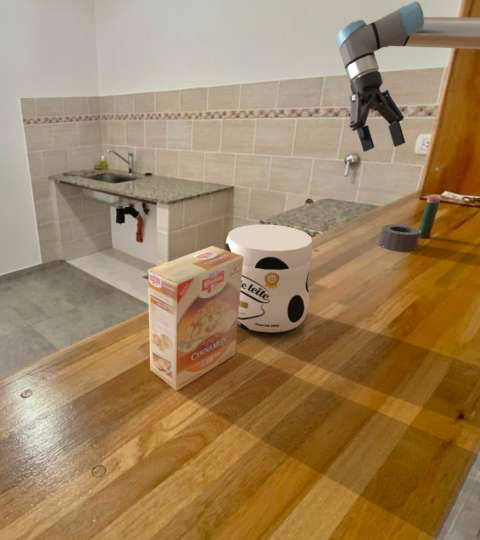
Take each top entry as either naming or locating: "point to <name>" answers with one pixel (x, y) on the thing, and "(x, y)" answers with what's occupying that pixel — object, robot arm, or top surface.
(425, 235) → the green marker pen
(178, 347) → the coffeecake box
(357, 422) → the top surface
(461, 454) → the top surface
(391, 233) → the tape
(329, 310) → the top surface
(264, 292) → the milk container
